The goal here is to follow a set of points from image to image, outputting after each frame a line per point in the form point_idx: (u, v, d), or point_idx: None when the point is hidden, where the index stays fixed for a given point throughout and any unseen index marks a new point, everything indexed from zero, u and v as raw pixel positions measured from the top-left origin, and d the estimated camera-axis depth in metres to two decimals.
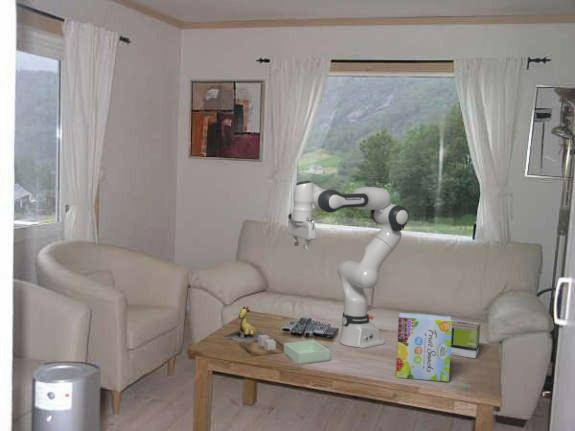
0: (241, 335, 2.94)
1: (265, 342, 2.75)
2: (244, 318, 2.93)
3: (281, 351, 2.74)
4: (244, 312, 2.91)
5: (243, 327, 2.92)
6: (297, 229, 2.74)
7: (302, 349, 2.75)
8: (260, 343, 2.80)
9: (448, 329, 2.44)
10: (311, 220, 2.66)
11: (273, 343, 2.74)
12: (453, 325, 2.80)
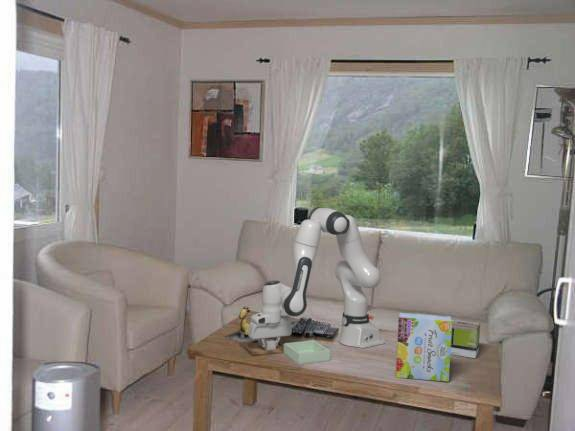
0: (241, 335, 2.93)
1: (265, 342, 2.75)
2: (244, 318, 2.92)
3: (281, 351, 2.74)
4: (244, 312, 2.90)
5: (243, 327, 2.92)
6: (270, 330, 2.72)
7: (302, 349, 2.75)
8: (260, 343, 2.80)
9: (448, 329, 2.44)
10: (288, 316, 2.77)
11: (273, 343, 2.74)
12: (453, 325, 2.80)
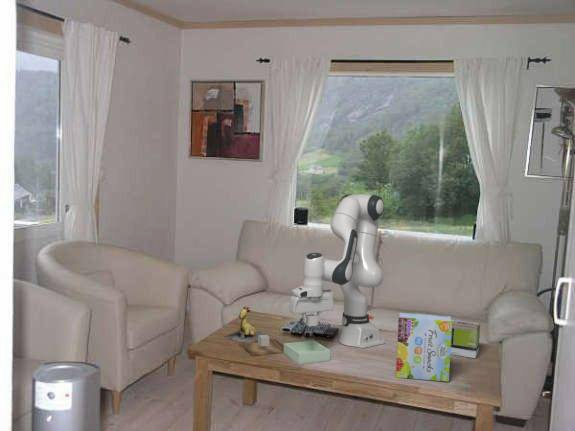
0: (241, 335, 2.93)
1: (306, 317, 2.64)
2: (244, 318, 2.92)
3: (281, 351, 2.74)
4: (244, 312, 2.90)
5: (243, 327, 2.92)
6: (312, 304, 2.62)
7: (302, 349, 2.75)
8: (260, 343, 2.80)
9: (448, 329, 2.44)
10: (330, 290, 2.67)
11: (315, 318, 2.63)
12: (453, 325, 2.80)
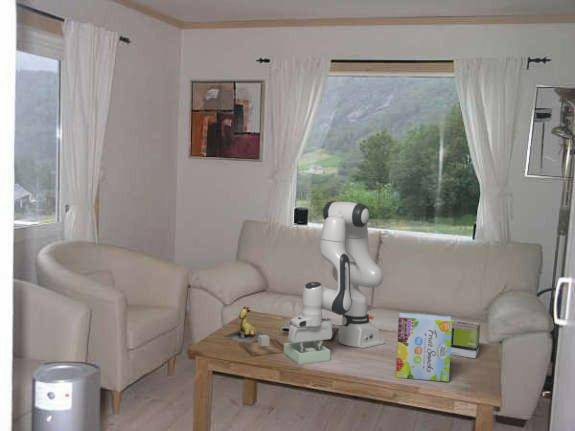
0: (241, 335, 2.94)
1: (305, 350, 2.65)
2: (244, 318, 2.93)
3: (281, 351, 2.74)
4: (244, 312, 2.90)
5: (243, 327, 2.92)
6: (310, 334, 2.63)
7: None
8: (260, 343, 2.80)
9: (448, 329, 2.44)
10: (329, 319, 2.68)
11: (313, 351, 2.65)
12: (453, 325, 2.80)
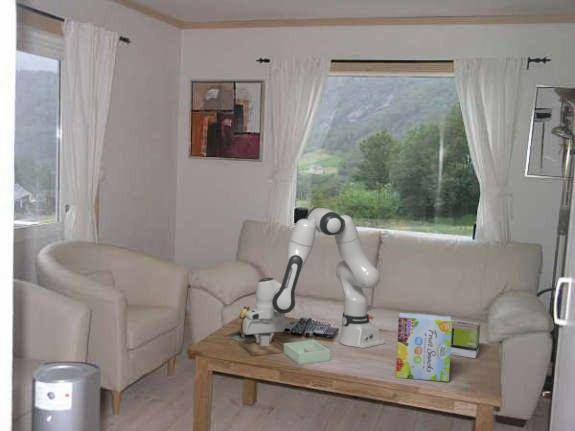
0: (242, 335, 2.94)
1: (305, 350, 2.65)
2: None
3: (281, 351, 2.74)
4: None
5: None
6: (264, 326, 2.79)
7: (302, 349, 2.75)
8: (260, 343, 2.80)
9: (448, 329, 2.44)
10: (282, 312, 2.84)
11: (313, 351, 2.65)
12: (453, 325, 2.80)
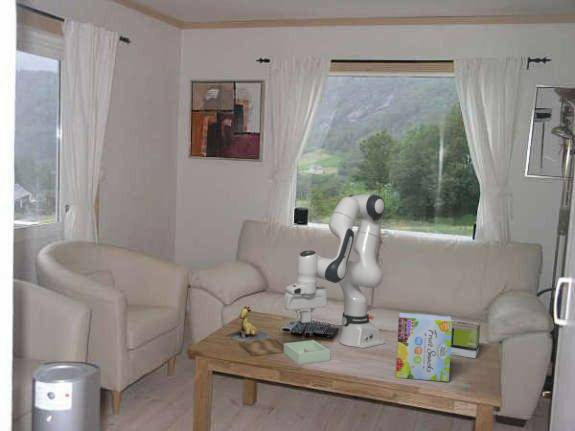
0: (242, 335, 2.94)
1: (305, 350, 2.65)
2: (245, 318, 2.93)
3: (281, 351, 2.74)
4: (245, 312, 2.91)
5: (244, 327, 2.93)
6: (305, 301, 2.67)
7: (302, 349, 2.75)
8: (301, 319, 2.68)
9: (448, 329, 2.44)
10: (323, 287, 2.72)
11: (313, 351, 2.65)
12: (453, 325, 2.80)
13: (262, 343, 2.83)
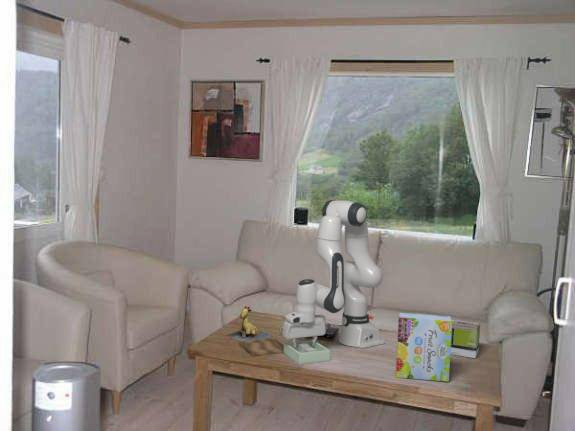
0: (243, 335, 2.95)
1: (305, 350, 2.65)
2: (246, 318, 2.94)
3: (281, 351, 2.74)
4: (245, 312, 2.91)
5: (245, 327, 2.93)
6: (304, 330, 2.69)
7: None
8: (300, 352, 2.70)
9: (448, 329, 2.44)
10: (322, 315, 2.74)
11: (313, 351, 2.65)
12: (453, 325, 2.80)
13: (262, 343, 2.83)
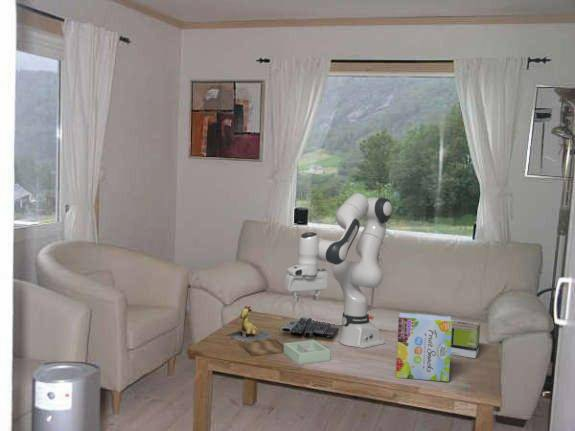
0: (243, 334, 2.95)
1: (305, 350, 2.65)
2: (246, 317, 2.94)
3: (281, 351, 2.74)
4: (246, 312, 2.92)
5: (245, 326, 2.93)
6: (306, 283, 2.66)
7: None
8: (300, 352, 2.70)
9: (448, 329, 2.44)
10: None
11: (313, 351, 2.65)
12: (453, 325, 2.80)
13: (262, 343, 2.83)
